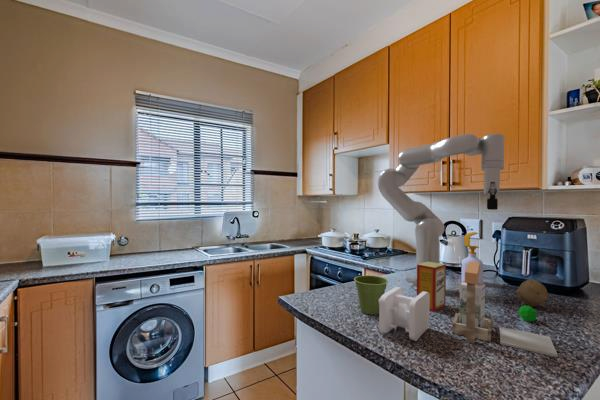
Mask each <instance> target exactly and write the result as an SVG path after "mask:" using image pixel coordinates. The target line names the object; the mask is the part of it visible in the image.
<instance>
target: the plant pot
mask: <svg viewBox="0 0 600 400" xmlns="http://www.w3.org/2000/svg"><path fill="white" fill-rule="evenodd" d="M353 280H354V282H355V286H356V291H357V297H358V301H359V302H358V303H359V308H360V311H361V313H364V314H366V315H378V314H379V304H380V303H379V299H380V298H381V296H382V295H383V294H385V293H386V292H385V291H386V289H387V284H388V283H389V280H388V279H387V278H385V277H383V276H378V275H370V274H369V275H358V276H355V277H354V278H353Z"/></svg>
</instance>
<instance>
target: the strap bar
mask: <svg viewBox="0 0 600 400" xmlns="http://www.w3.org/2000/svg"><path fill="white" fill-rule="evenodd" d="M479 272H480V263H479V262H469V263H468V265H467V268H466V271H465V283H469V284H476V285H477V283H478V278H479Z"/></svg>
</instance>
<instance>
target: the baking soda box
mask: <svg viewBox="0 0 600 400" xmlns="http://www.w3.org/2000/svg"><path fill="white" fill-rule="evenodd" d="M446 273H447V264H445V263H441V262H440V263H435V262H423V263H420V264H418V265H417V290H416V296H418V295H419V294H420V293H422V292H423V291H425V292H429V295H430V304H429V312H434V313H435V312H436V311H439V310H440V309H442V308H444V307H446V300H447V299H446V298H447V297H446V295H447V294H446V288H447V287H446V286H447V285H446V284H447V282H446V281H447V279H446V278H447V274H446Z"/></svg>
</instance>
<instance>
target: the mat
mask: <svg viewBox="0 0 600 400" xmlns="http://www.w3.org/2000/svg"><path fill="white" fill-rule="evenodd" d="M499 341H500V343H499V344H500V345H503V346H507V347H512V348H515V349H519V350H524V351H529V352H533V353H536V354H537V353H538V354H542V355H547V356H552V357H555V358H558V352H557V350H556V348H555V345H554V343H553V341H552V339H551V336H548V335H543V334H538V333H533V332H529V331H528V332H527V331H522V330H518V329H512V328H507V327H503V326H499Z"/></svg>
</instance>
